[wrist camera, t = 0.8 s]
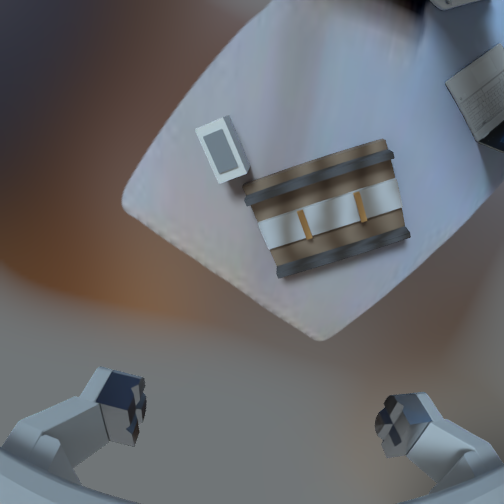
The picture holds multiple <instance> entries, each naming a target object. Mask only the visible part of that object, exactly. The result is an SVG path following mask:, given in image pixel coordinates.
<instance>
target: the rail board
mask: <svg viewBox="0 0 504 504" xmlns="http://www.w3.org/2000/svg"><path fill="white" fill-rule="evenodd" d="M391 159H394V154H393V152H392V151H390V150H389V149H388V148H387V144H386V140H384V139H380V140H376V141H373V142H369V143H366V144H363V145H359V146H356V147H353V148H349V149H346V150H343V151H340V152H337V153H333V154H330V155H327V156H324V157H321V158H318V159H315V160H312V161H309V162H306V163H303V164H300V165H297V166H294V167H291V168H288V169H285V170H282V171H280V172H277V173H274V174H271V175H268V176H265V177H263V178H260V179H257V180H254V181H252V182H249V183H246V184H244V185H243V189H244V192H245V194H246V198H245V200H244V201H245V203H246V205H247V206H249V205H251V207H252V210H253V212H254V214H255V217H256V219H257V221H258V226H259V229H260V231H261V233H262V236H263V238H264V240H265V242H266V245H267V247H268V249H270V251H271V254H272V256H273V258H274V261H275V263H276V265H277V276H278V278H282V277H285V276H289V275H292V274H295V273H299V272H302V271H306V270H309V269H312V268H316V267H319V266H322V265H325V264H329V263H332V262H335V261H338V260H342V259H345V258H348V257H351V256H355V255H358V254H361V253H364V252H367V251H370V250H374V249H377V248H380V247H383V246H386V245H389V244H392V243H395V242H398V241H401V240H404V239H407V238H410V237H411V236H410V232H409V231H408V229H407V228H406V227H405V223H404V218H403V212H402V207H403V206H402V201H401V196H400V191H399V187H398V182H397V179H396V178H395V175H394V171H393V167H392V163H391Z"/></svg>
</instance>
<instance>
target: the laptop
mask: <svg viewBox="0 0 504 504" xmlns="http://www.w3.org/2000/svg"><path fill="white" fill-rule="evenodd" d="M445 84H446V86H447V87H448V89H449V91H450V92H451V94H452V96H453V98H454V100H455V101H456V103H457V105H458V107H459V109H460V111H461V113H462V114H463V116H464V118H465V120H466V122H467V124H468V126H469V128H470V130H471V132H472V134H473V136H474V139H475V141H476V142H477V141H478V143H479V144H482V145H485V146H487V147H490V148H492V149H495V150H497V151H500V152H502V153H504V48H503V46H502V45H501V44H500V43H499V44H498V45H496V46H495V47H493V48H492V49H491V50H489V51H488V52H486V53H485V54H483V55H482V56H481V57H479V58H478V59H476V60H475V61H474V62H472V63H471V64H469V65H468V66H467V67H465V68H464V69H463V70H461V71H460V72H458V73H457V74H456V75H454V76H453V77H451V78H450V79H449V80H447V81H446V82H445ZM498 124H499V125H498ZM480 139H481V140H480Z"/></svg>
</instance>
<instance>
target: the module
mask: <svg viewBox="0 0 504 504" xmlns="http://www.w3.org/2000/svg"><path fill="white" fill-rule="evenodd" d="M195 131H196V134H197V136H198V138H199V140H200V143H201V145H202V147H203V149H204V152H205V154H206V156H207V158H208V161H209V163H210V165H211V167H212V170H213V172H214V174H215V176H216V179H217V181H218V183H219V184H220V183H223V182H226V181H228V180H231V179H234V178H236V177H239V176H242V175H245V174H247V172H248V170H249V168H250V164H249V162H248V159H247V157H246V155H245V152H244V150H243V147H242V145H241V143H240V140H239V138H238V136H237V133H236V131H235V129H234V126H233V124H232V121H231V119H230V117H229V115H228V116H225V117H222V118H220V119H218V120H215V121H213V122H210V123H208V124H206V125H204V126H201V127H199V128H197V129H195Z"/></svg>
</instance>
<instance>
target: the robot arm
mask: <svg viewBox="0 0 504 504" xmlns="http://www.w3.org/2000/svg"><path fill="white" fill-rule="evenodd" d="M430 1H431V2H432V3H433V4H434V5H435V6H436V7H437V8H439V9H440V10H448V9H451V8H455V7H458V6H462V5H465V4H469V3H473V2H477V1H481V0H430ZM445 1H446V2H447V3H448V4H447V3H446V2H445ZM144 388H145V380H144V378H143V377H140V376H136V375H132V374H128V373H125V372H121V371H117V370H112V369H108V368H105V367H101V366H100V367H98V368H97V369H96V371H95V373H94V374H93V376H92V377H91V379H90V380H89V382H88V384H87V385H86V387H85V389H84V390H83V392H82V394H81V395H80V397H76V396H75V397H73V398H70V399H68V400H66V401H64V402H61V403H59V404H57V405H54V406H52V407H50V408H48V409H45V410H43V411H41V412H38V413H36V414H34V415H31V416H29V417H27V418H24V419H22V420H20V421H18V423H17V424H16V426H15V427H14V429H13V430H12V432H11V433H10V435H9V436H8V438H7V439H6V441H5V443H4V444H3V445H2V447H0V504H141V503H137V502H133V501H129V500H126V499H122V498H119V497H115V496H112V495H109V494H105V493H102V492H99V491H96V490H93V489H90V488H87V487H85V486H82V485H81V482H80V480H79V478H78V477H77V475H76V473H75V471H74V470H73V468H74V467H75V466H77V465H78V464H80V463H81V462H83V461H84V460H85V459H87V458H88V457H90V456H91V455H92V454H94V453H95V452H97V451H98V450H99V449H101V448H102V447H103V446H105V445H106V444H108V443H109V441H112V442H116V443H120V444H124V445H128V446H132V447H134V446H135V444H136V441H137V438H138V435H139V426H138V425H139V424H140V423H142V422H143V420H144V416H145V412H146V402H147V401H146V396H145V394H144V393H143V391H144ZM384 405H385V408H384V409H383V410H381V411H380V412H379V413H378V415H377V417H376V420H375V431H376V433H377V435H378V437H380V438H381V439H383V442H382V444H381V445H382V448H383V450H384V452H385V455H386V457H387V458H391V457H398V456H404V455H406V457H408V458H409V459H410V460H411V461H412V462H413V463H414V464H415V465H417V466H418V467H419V468H420V469H421V470H422V471H424V472H425V473H426V474H427V475H428V476H429V477H430V478H432V479H433V480H434V481H435V482H436V483H437V484H436V486H434V487H433V488H432V489H431V491H430V492H429V495H425V496H422V497H419V498H415V499H412V500H408V501H404V502H400V503H396V504H504V464H503V463H502V461H501V460H500V458H499V456H498V455H497V453H496V452H495V450H494V449H493V447H492V446H491V444H490V443H488V442H487V441H485V440H483V439H481V438H479V437H477V436H476V435H474V434H472V433H470V432H469V431H467V430H465V429H463V428H462V427H460V426H458V425H456V424H455V423H453V422H451V421H450V420H448V419H443V417H442V416H441V414H440V413H439V411H438V410H437V408H436V407H435V405H434V403H433V402H432V400H431V399H430V397H429V396H428V394H426V393H425V392H418V393H412V394H411V393H410V394H399V395H390V396H388V397H387V399H386V400H385V402H384Z"/></svg>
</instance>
